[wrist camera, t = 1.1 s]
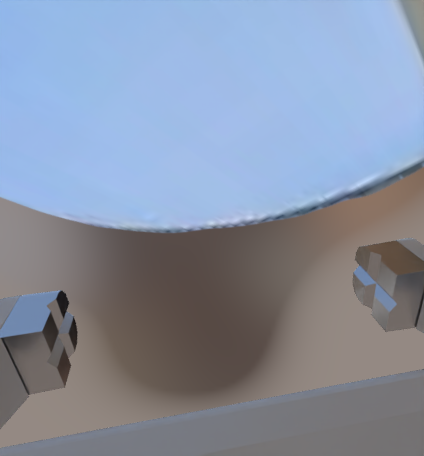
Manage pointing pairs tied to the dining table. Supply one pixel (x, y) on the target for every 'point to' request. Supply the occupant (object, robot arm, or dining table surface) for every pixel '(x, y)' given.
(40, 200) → the dining table surface
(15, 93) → the dining table surface
